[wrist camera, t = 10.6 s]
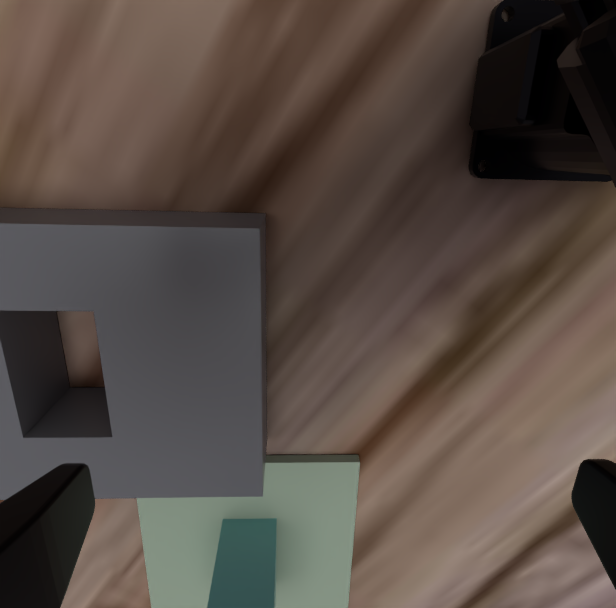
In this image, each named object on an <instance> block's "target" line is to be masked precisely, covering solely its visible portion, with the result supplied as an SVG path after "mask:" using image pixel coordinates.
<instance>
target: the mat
mask: <svg viewBox="0 0 616 608" xmlns="http://www.w3.org/2000/svg"><path fill="white" fill-rule="evenodd" d="M359 468H360V460H359V456H358V455H266V460H265V473H264V487H263V497H187V498H137V504H138V512H139V519H140V527H141V534H142V541H143V549H144V556H145V564H146V571H147V579H148V586H149V593H150V601H151V608H207V605H208V600H209V594H210V588H211V583H212V577H213V571H214V566H215V560H216V554H217V549H218V543H219V537H220V532H221V526H222V521H223V519H264V518H277V541H276V606H275V608H348V601H349V588H350V576H351V564H352V552H353V540H354V528H355V516H356V504H357V492H358V480H359Z"/></svg>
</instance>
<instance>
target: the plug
mask: <svg viewBox="0 0 616 608" xmlns="http://www.w3.org/2000/svg"><path fill="white" fill-rule="evenodd" d="M276 541H277V518H264V519H223V521H222V526H221V532H220V537H219V543H218V549H217V554H216V560H215V566H214V571H213V577H212V583H211V588H210V594H209V600H208V605H207V608H275V606H276Z"/></svg>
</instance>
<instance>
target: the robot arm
mask: <svg viewBox="0 0 616 608" xmlns="http://www.w3.org/2000/svg"><path fill="white" fill-rule="evenodd" d="M504 9H505V10H507V11H508V12H509V16H510V18H509V20H508V22H505V21H503V19H502V16H501V13H502V11H503V10H504ZM470 126H471V128H472V129H473V130H474V133H473V140H472V147H471V154H470V161H469V171H470V173H471V175H473V176H474V177H477V178H487V179H525V180H563V181H601V182H607V181H611V180H612V181H613V183H614V185H615V187H616V0H554V1H551V0H504V1H502V2H501V3H499V4H498V5H497V6H495V8H494V9H493V11H492V13H491V17H490V23H489V30H488V37H487V44H486V51H485V53H484V54H483V55H482V56H481V57H480V58H479V60H478V67H477V74H476V81H475V88H474V95H473V102H472V109H471V116H470ZM482 160H484V161H485V162H486V167H485V169H484V170H483V171H482V172H480V170H479V169H478V165H479V163H480V162H481V161H482ZM572 504H573V507H574V509H575V511H576V513H577V515H578V517H579V519H580V521H581V523H582V525H583V527H584V529H585V531H586V533H587V535H588V537H589V539H590V541H591V543H592V545H593V547H594V549H595V550H596V552H597V554H598V556H599V558H600V560H601V562H602V564H603V566H604V568H605V570H606V572H607V574H608V576H609V578H610V580H611V582H612V583H613V585H614V587H615V589H616V463H614V462H612V461H610V460H606V459H587V460H584V461H583V462H582V463H581V464H580V466H579V470H578V473H577V477H576V480H575V483H574V487H573V490H572ZM94 509H95V497H94V491H93V485H92V479H91V474H90V469H89V467H88V465H86V464H84V463H65V464H61V465H59V466H57V467H56V468H54V469H53V470H51V471H49V472H48V473H46V474H45V475H43V476H42V477H40V478H39V479H37V480H35V481H34V482H32V483H31V484H29V485H28V486H26V487H25V488H23V489H21V490H20V491H18V492H17V493H15V494H14V495H12V496H11V497H9V498H8V499H6V500H4V501H3V502H1V503H0V608H60V607H61V604H62V601H63V599H64V596H65V593H66V591H67V588H68V585H69V582H70V579H71V577H72V574H73V571H74V568H75V565H76V562H77V559H78V557H79V554H80V551H81V548H82V545H83V542H84V539H85V537H86V534H87V531H88V528H89V525H90V522H91V519H92V517H93V513H94Z"/></svg>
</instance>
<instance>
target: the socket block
mask: <svg viewBox="0 0 616 608" xmlns="http://www.w3.org/2000/svg"><path fill="white" fill-rule="evenodd" d="M56 311H94V317H95V324H96V330H97V337H98V344H99V350H100V357H101V364H102V371H103V377H104V384H105V388H70V386H69V380H68V375H67V369H66V364H65V358H64V353H63V347H62V342H61V336H60V331H59V325H58V320H57V314H56ZM266 446H267V366H266V213H227V212H181V211H135V210H88V209H42V208H0V500H6V499H8V498H9V497H11V496H12V495H14V494H15V493H17V492H18V491H20V490H21V489H23V488H25V487H26V486H28V485H29V484H31V483H32V482H34V481H35V480H37V479H39V478H40V477H42V476H43V475H45V474H46V473H48V472H49V471H51V470H53V469H54V468H56V467H57V466H59V465H61V464H65V463H84V464H86V465H88V467H89V469H90V474H91V479H92V485H93V491H94V497H95V499H104V498H187V497H263V487H264V473H265V460H266Z"/></svg>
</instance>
